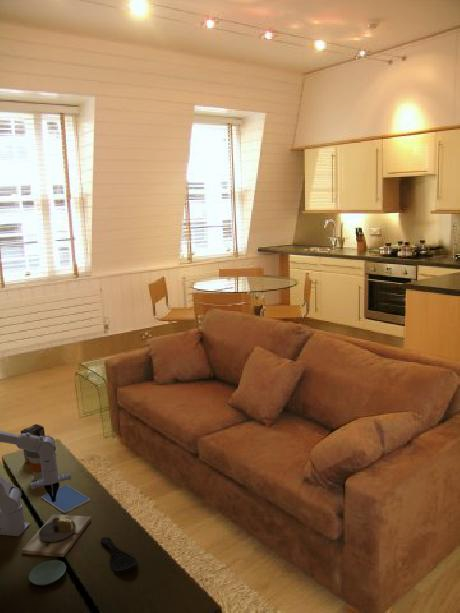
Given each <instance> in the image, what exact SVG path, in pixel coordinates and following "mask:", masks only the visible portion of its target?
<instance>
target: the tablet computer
mask: <svg viewBox="0 0 460 613" xmlns="http://www.w3.org/2000/svg"><path fill="white" fill-rule="evenodd" d="M52 494H53V490H52ZM41 498H43V499H44V500H43V499H42V500H43V501H45V502H46V501H47V502H46V503H48V504H50V505H51V506H52V507H54V508H56V509H57V510H58V511H60V512H61V513H62V514H66V513H69V512H71V511H73V510H75V509H77V508H79V507H81V506H83V505H85V504H86V503H88V502H90V501H91V498H89V496H87V495H85V494H83V493H81V492H80V491H78V490H76V489H75V488H73V487H71V486H69V485H67V484H66V485H63V486H60V487H59V488H58V491H57V495H56V502H52V500H51V497H50V496H49V494H48V493H46V494H44V495H42V496H41ZM41 498H40V499H41Z"/></svg>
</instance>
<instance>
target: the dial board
mask: <svg viewBox="0 0 460 613" xmlns="http://www.w3.org/2000/svg"><path fill="white" fill-rule="evenodd" d="M54 518H60V519H72V521H73V522H74V523H75V526H76V530H75V532H74V533H73V534H72V535H71V536H70V537H69V538H67V539H65V540H63V541H60V542H55V543H46V542H43V541H42V540H41V539H40V538H39V531H40V530H41V528H42V527H43V526H45V525H46V524H48V523H50V522H52V520H53V519H54ZM91 521H92V517H91V516H85V515H84V516H83V515H68V514H58V513H57V514H55V513H54V514H52V515H51V516H50V517H49V518H48V520H46V522H45V523H44V524H43V525H42V527H40V529H38V531H37V532H36V533H35V534H34V535H33V537H32V538H31V539H30V540H29V541H28V542H27V543H26V544H25V545H24V547H22V549H21V552H22V554H23V555H35V556H47V557H58V558H61V557H62V558H64V557H65V556H66V554H68V551H70V549H71V548H72V547H73V546H74V544H75V543H76V542H77V540H78V539H79V537H80V536H81V535H82V533H83V532H84V530H85V529H86V528H87V527H88V525H89V524H90V523H91Z"/></svg>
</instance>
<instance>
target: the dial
mask: <svg viewBox="0 0 460 613" xmlns="http://www.w3.org/2000/svg"><path fill="white" fill-rule="evenodd" d="M42 526H43V525H42ZM40 529H41V530H40ZM40 529H39V530H40V531H39V530H38V531H39V538H40V539H41V540H42V541H43V542H46V543H55V542H60V541H63V540H65V539H67V538H69V537H70V536H71V535H72V534H73V533H74V532H75V530H76V526H75V523H74V522H73V521H72V519H60V518H54V519H53V520H52V522H50V523H48V524H46V525H45V526H43V527H42V528H41V527H40Z"/></svg>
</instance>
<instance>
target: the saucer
mask: <svg viewBox="0 0 460 613" xmlns="http://www.w3.org/2000/svg"><path fill="white" fill-rule="evenodd" d="M66 570H67V565H66V563H65V562H63V561H62V560H57V559H52V560H45V561H43V562H41V563H39V564H37V565H36V566H34V568H32V570H30V572H29V574H28V580H29V582H30V583H32V584H33V585H37V586H48V585H51V584H53V583H55V582H57V581H58V580H59V579H61V578H62V576H63V575H64V574H65V572H66Z"/></svg>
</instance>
